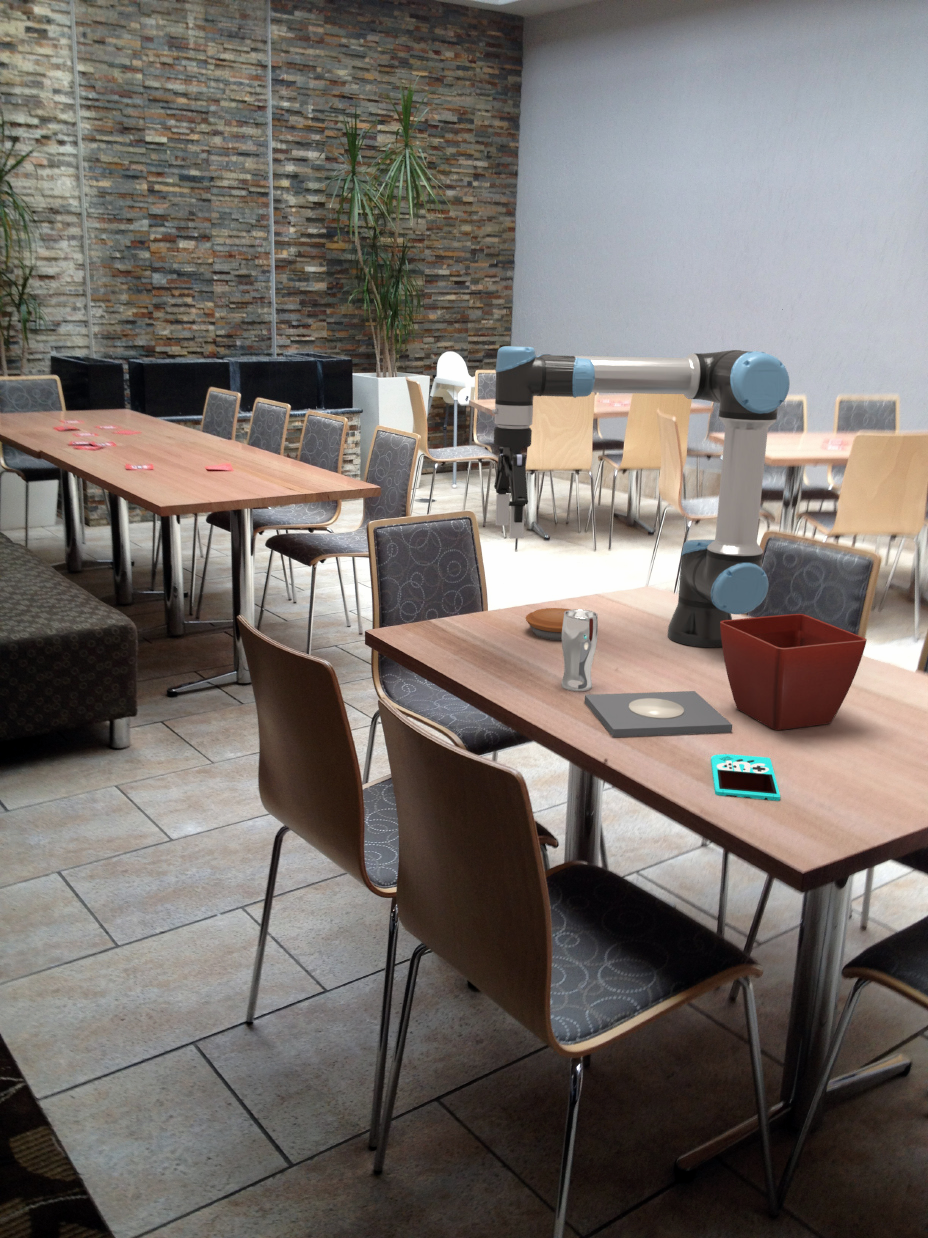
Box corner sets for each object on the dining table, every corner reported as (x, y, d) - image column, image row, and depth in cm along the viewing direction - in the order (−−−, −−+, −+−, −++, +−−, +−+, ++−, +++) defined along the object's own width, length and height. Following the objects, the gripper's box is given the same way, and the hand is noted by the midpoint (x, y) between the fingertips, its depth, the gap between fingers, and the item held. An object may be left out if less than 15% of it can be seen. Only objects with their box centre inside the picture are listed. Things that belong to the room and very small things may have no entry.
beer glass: (594, 682, 220) (598, 609, 216) (594, 693, 213) (599, 619, 209) (559, 680, 221) (563, 608, 217) (558, 691, 214) (562, 617, 210)
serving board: (693, 698, 212) (694, 689, 212) (731, 732, 195) (732, 723, 194) (584, 702, 208) (584, 693, 208) (613, 737, 191) (613, 727, 191)
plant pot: (709, 704, 209) (717, 619, 205) (792, 694, 216) (802, 612, 211) (770, 740, 192) (780, 648, 187) (858, 728, 199) (870, 639, 194)
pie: (595, 644, 246) (596, 623, 244) (526, 642, 246) (527, 621, 244) (588, 625, 260) (589, 605, 259) (523, 623, 261) (524, 603, 259)
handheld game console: (771, 764, 183) (771, 756, 183) (781, 804, 168) (782, 796, 167) (709, 758, 184) (710, 751, 184) (714, 798, 169) (715, 790, 169)
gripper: (482, 419, 229) (479, 520, 234) (507, 432, 205) (503, 544, 211) (517, 420, 230) (513, 520, 236) (546, 433, 206) (541, 543, 212)
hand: (509, 531), depth 223 cm, fingers open, 13 cm apart
